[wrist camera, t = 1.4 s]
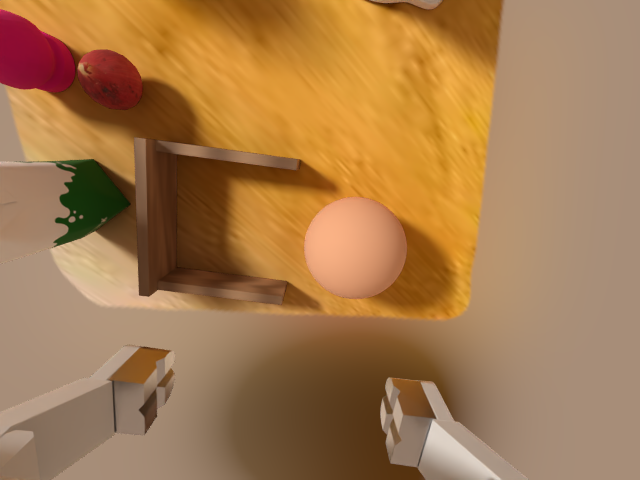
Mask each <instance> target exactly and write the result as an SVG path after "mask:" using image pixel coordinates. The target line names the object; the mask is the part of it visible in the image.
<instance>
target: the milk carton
mask: <svg viewBox="0 0 640 480" xmlns="http://www.w3.org/2000/svg"><path fill="white" fill-rule="evenodd" d="M129 205H130V203H129V201H128V200H127V199H126V198H125V197H124V195H123V194H122V193H121V192H120V191H119V189H118V188H117V187H116V186H115V185H114V183H113V182H112V181H111V180H110V179H109V177H108V176H107V175H106V174H105V172H104V171H103V170H102V169H101V168H100V166H99V165H98V164H97V163H96V162H95V160H94V159H88V160H68V161H47V162H0V264H3V263H6V262H9V261H13V260H16V259H19V258H22V257H25V256H28V255H31V254H34V253H37V252H41V251H43V250H46V249H50V248H53V247H56V246H59V245H62V244H65V243H68V242H71V241H74V240H77V239H80V238H83V237H85V236H87V235H88V234H90V233H92V232H94V231H95V230H97V229H98V228H99V227H101V226H102V225H103V224H105V223H106V222H108V221H109V220H110V219H112V218H113V217H114V216H116V215H117V214H118V213H120V212H121V211H122V210H124V209H125V208H126V207H128V206H129Z"/></svg>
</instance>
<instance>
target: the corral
mask: <svg viewBox="0 0 640 480" xmlns="http://www.w3.org/2000/svg"><path fill="white" fill-rule="evenodd" d="M134 153H135V184H136V215H137V246H138V277H139V295H140V296H148V297H149V296H150V295H152V294H153V293H154V292H156V291H157V290H165V291H173V292H181V293H189V294H197V295H205V296H213V297H221V298H229V299H238V300H246V301H254V302H262V303H270V304H278V305H282V302H283V298H284V295H285V291H286V286H287V281H282V280H274V279H266V278H258V277H250V276H242V275H234V274H226V273H218V272H210V271H202V270H194V269H186V268H178V267H177V154H181V155H188V156H195V157H203V158H210V159H217V160H225V161H232V162H239V163H247V164H254V165H262V166H269V167H276V168H284V169H291V170H298V169H300V159H293V158H285V157H278V156H271V155H263V154H256V153H249V152H242V151H234V150H227V149H220V148H212V147H205V146H198V145H190V144H183V143H176V142H168V141H160V140H152V139H144V138H136V137H134Z"/></svg>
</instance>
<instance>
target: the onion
mask: <svg viewBox="0 0 640 480" xmlns="http://www.w3.org/2000/svg"><path fill="white" fill-rule="evenodd" d="M77 73H78V79H79V82H80V84H81V86H82V88H83V89H84V91H85V92H86V93H87V94H88V95H89V96H90V97H91V98H92V99H93V100H94V101H95V102H97V103H99V104H101V105H103V106H105V107H108V108H110V109H119V110H127V109H129V108H131V107H134V106H135V105H136V104H137V103H138V102H139V100H140V99H141V97H142V91H143V86H142V80H141V76H140V74H139V72H138V70H137V69H136V67H135V66H134V65H133V64H132V63H131V62H130V61H129V60H128V59H127V58H125V57H124V56H123V55H120V54H118V53H116V52H114V51H111V50H93V51H91V52H89V53H87V54H85V55H84V56H83V57H82V59H81V60H80V62H79V65H78V69H77Z"/></svg>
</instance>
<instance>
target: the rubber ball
mask: <svg viewBox="0 0 640 480" xmlns="http://www.w3.org/2000/svg"><path fill="white" fill-rule="evenodd" d="M304 251H305V259H306V263H307V265H308V268H309V270H310V272H311V274H312V276H313V277H314V278H315V280H316V281H317V282H318V283H319V284H320V285H321V286H322V287H323V288H325V289H326V290H327V291H329V292H331V293H333V294H335V295H337V296H340V297H343V298H349V299H363V298H368V297H371V296H374V295H377V294H379V293H381V292H382V291H384V290H385V289H387V288H388V287H389V286H390V285H391V284H392V283H393V282H394V281H395V280H396V279H397V278H398V276H399V275H400V273H401V271H402V269H403V267H404V263H405V260H406V254H407V242H406V237H405V233H404V230H403V228H402V225H401V223H400V222H399V220H398V219H397V217H396V216H395V215H394V214H393V213H392V212H391V211H390V210H389V209H388V208H387V207H385V206H384V205H382V204H380V203H378V202H376V201H374V200H371V199H368V198H363V197H348V198H343V199H340V200H337V201H334V202H332V203H330V204H329V205H327V206H326V207H324V208H323V209H322V210H321V211H320V212H319V213H318V214H317V215H316V216H315V217H314V219H313V220H312V222H311V224H310V226H309V228H308V230H307V233H306V237H305V244H304Z"/></svg>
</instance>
